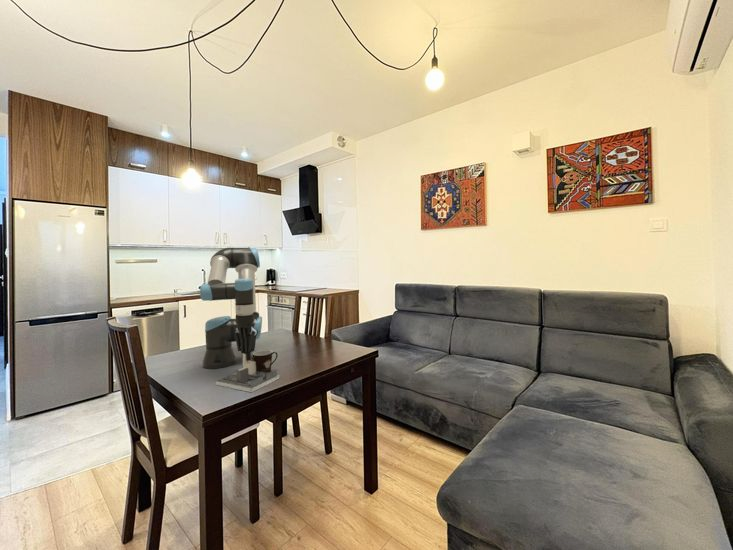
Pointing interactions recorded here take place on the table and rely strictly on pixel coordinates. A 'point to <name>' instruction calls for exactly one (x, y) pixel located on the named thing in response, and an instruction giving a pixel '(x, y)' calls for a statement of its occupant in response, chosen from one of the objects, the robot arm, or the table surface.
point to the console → (249, 381)
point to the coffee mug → (263, 360)
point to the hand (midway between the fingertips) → (246, 367)
